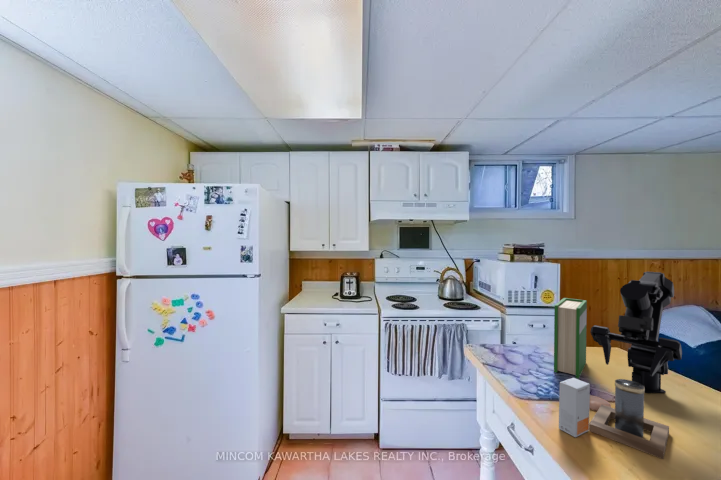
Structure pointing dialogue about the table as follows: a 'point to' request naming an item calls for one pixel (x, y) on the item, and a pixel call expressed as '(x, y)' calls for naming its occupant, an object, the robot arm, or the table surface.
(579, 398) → the skincare box
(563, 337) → the hardback book
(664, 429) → the pocket frame
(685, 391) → the table surface
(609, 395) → the table surface
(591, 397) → the coaster
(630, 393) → the tea tin
